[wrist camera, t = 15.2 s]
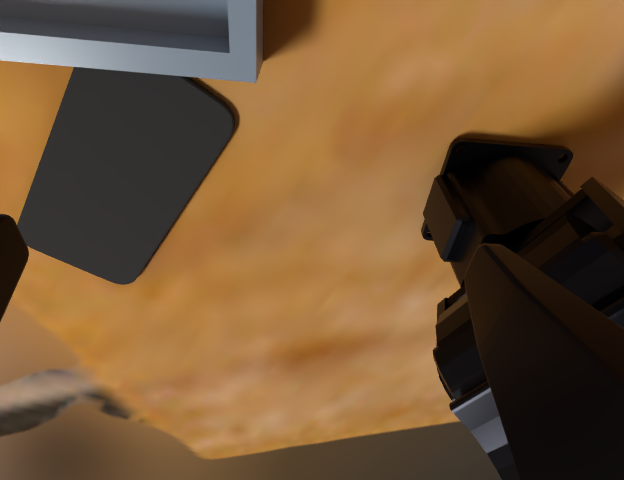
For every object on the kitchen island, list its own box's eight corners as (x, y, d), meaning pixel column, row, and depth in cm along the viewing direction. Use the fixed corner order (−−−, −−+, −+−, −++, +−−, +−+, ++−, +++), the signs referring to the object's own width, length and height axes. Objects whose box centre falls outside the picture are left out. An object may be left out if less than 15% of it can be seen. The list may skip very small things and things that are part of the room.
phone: (244, 119, 19) (129, 290, 26) (246, 112, 20) (134, 281, 27) (90, 14, 16) (10, 240, 24) (98, 11, 17) (18, 231, 24)
